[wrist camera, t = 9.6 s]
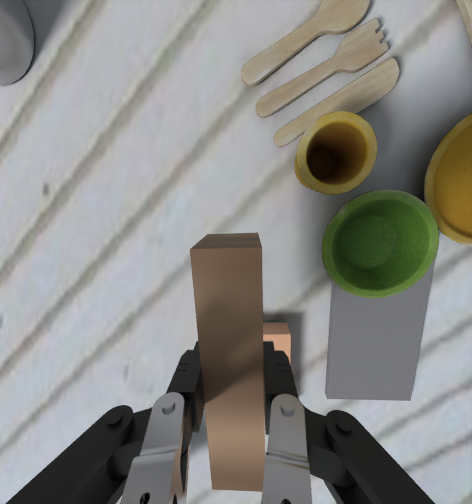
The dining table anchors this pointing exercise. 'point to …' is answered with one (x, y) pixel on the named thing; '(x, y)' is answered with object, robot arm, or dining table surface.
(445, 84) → the dining table surface
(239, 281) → the walnut stick
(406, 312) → the rubber mat
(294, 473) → the robot arm
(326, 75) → the tableware set
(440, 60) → the dining table surface
